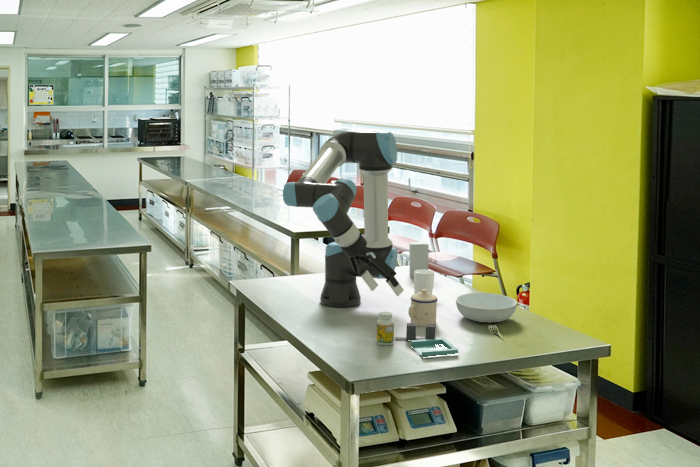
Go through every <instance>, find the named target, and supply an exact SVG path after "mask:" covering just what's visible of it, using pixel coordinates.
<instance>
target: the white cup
mask: <svg viewBox="0 0 700 467" xmlns="http://www.w3.org/2000/svg"><path fill="white" fill-rule="evenodd" d="M434 280H435V271H434V270H431V269H428V270H426V269H419V270H415V271H414V277H413V290H414V294H417V293H419V292H421V290H422V289H426V290H427V292H429V293H430V294H432V295H433V290H434ZM414 294H413V295H414Z"/></svg>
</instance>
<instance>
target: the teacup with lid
mask: <svg viewBox="0 0 700 467" xmlns="http://www.w3.org/2000/svg"><path fill="white" fill-rule="evenodd" d="M410 300H411V301H410V304H411V305H410V306H409V307H408V316H409V318H410V323H416V326H419V327H426V324H435V325H436V323H437V309H438V308H437V305H438V304H437V302H438V297H437V295H435V294H433V293H432V294H430V293H429V292H427V290H426V289H422V290H421V292H419V293H417V294H412V295H411V296H410Z"/></svg>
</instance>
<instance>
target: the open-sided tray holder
mask: <svg viewBox="0 0 700 467" xmlns="http://www.w3.org/2000/svg"><path fill="white" fill-rule="evenodd" d="M435 344H436V345H437V344H438V345H439V344H443V345H444V346H445V347H447V348H448V349H442V350H428V349H429V348H430V349H431V348H433V349H434V348H435V349H436V346H435ZM411 346H412V347H413V348H414V349H415V350H416V351H417V352H418V353H419V354H420V355H421V356H422V357H428V356H436V355H447V354H455V353H458V354H459V349H458V348H457V347H456V346H455V345H453V344H452V343H451V342H450V341H448V340H447V338H445V337H441V338H435V339H425V340H412V341H410V347H411ZM439 347H442V346H441V345H439ZM437 348H438V347H437ZM421 356H420V357H421ZM422 357H421V358H422Z"/></svg>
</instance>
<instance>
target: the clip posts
mask: <svg viewBox="0 0 700 467" xmlns="http://www.w3.org/2000/svg"><path fill="white" fill-rule="evenodd" d="M405 332H406V335H405V337H404V336H394V341H401V340H406V341H405V342H409V341H408V340H411V341H412V340H425V339H436V323H435V324H426V326H425V335H424V336H425V337H417V325H416V323H411V322H406V331H405ZM411 341H410V342H411Z"/></svg>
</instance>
